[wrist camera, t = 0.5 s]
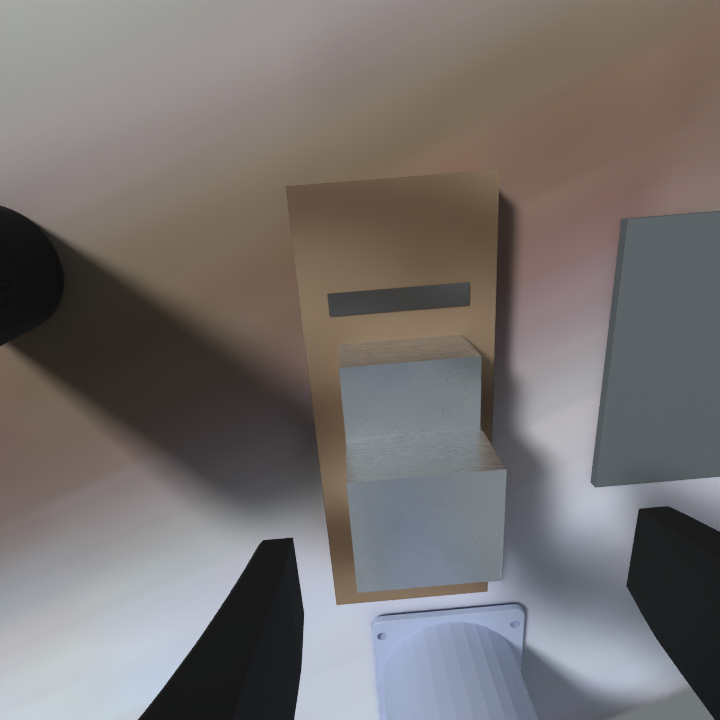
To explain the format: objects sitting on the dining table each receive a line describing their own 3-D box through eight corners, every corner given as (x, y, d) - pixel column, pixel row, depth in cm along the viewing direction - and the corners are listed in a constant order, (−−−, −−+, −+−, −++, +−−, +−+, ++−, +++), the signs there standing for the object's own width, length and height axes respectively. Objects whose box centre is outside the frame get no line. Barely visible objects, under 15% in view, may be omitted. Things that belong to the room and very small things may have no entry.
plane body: (475, 558, 22) (488, 593, 20) (337, 571, 22) (336, 606, 20) (481, 173, 16) (500, 169, 14) (292, 188, 16) (285, 186, 14)
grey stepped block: (460, 494, 18) (501, 592, 14) (354, 503, 18) (358, 605, 14) (461, 334, 16) (510, 386, 11) (339, 344, 16) (338, 401, 11)
